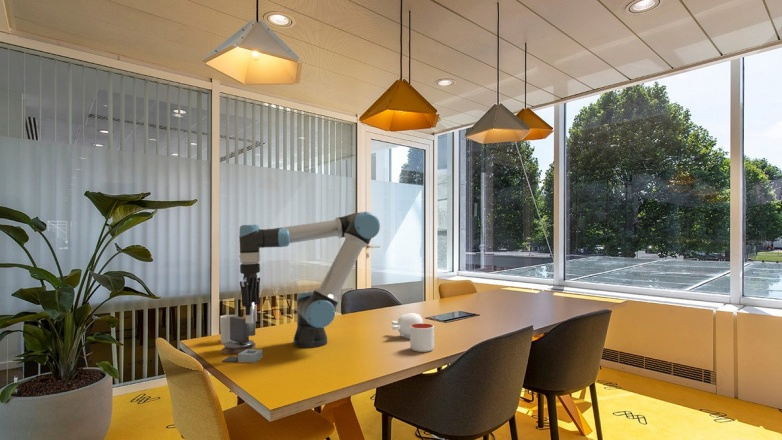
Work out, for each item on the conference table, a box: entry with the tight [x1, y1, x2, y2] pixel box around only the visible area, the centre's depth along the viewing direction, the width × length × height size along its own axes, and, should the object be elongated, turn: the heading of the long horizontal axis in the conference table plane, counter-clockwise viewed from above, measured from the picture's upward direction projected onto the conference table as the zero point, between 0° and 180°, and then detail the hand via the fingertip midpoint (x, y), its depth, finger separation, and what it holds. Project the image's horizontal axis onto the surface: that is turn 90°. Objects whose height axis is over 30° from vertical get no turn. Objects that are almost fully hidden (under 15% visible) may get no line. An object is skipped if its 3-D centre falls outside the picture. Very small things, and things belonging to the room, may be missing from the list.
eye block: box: [237, 349, 264, 363], centre depth 173 cm, size 7×7×3 cm
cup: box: [409, 322, 435, 353], centre depth 184 cm, size 10×10×10 cm
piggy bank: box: [391, 312, 424, 339], centre depth 205 cm, size 12×12×15 cm
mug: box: [219, 314, 237, 345], centre depth 202 cm, size 10×7×12 cm, turn 25°
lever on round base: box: [223, 314, 255, 349], centre depth 187 cm, size 12×12×13 cm
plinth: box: [221, 342, 257, 355], centre depth 186 cm, size 10×10×2 cm
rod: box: [247, 302, 256, 337], centre depth 173 cm, size 3×3×13 cm
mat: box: [221, 355, 238, 363], centre depth 173 cm, size 6×6×1 cm
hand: (251, 321), depth 173 cm, fingers closed on rod, 3 cm apart
